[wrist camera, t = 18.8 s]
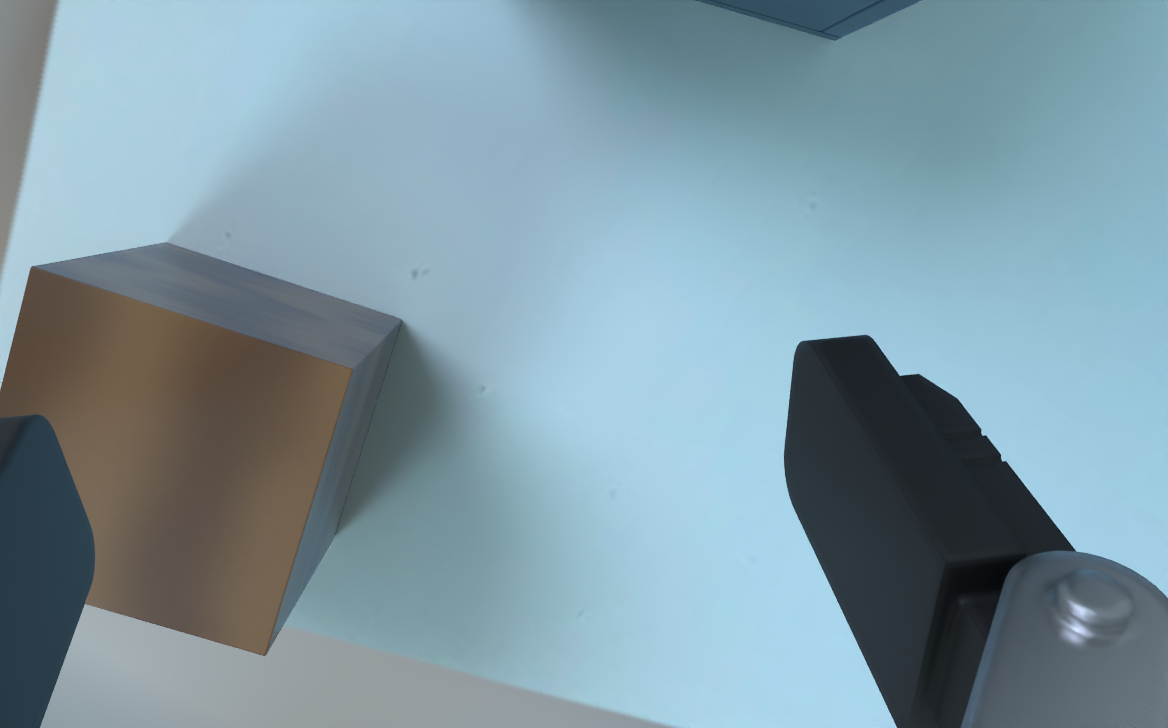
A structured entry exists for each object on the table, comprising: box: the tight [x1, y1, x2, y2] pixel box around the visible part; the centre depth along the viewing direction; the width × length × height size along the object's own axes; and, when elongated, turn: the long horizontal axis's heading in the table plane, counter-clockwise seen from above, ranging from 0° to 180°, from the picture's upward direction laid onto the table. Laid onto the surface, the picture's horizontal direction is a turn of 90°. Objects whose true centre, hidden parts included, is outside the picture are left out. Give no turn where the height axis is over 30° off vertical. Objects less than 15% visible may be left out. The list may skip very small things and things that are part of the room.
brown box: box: [0, 243, 402, 656], centre depth 34 cm, size 9×9×10 cm
